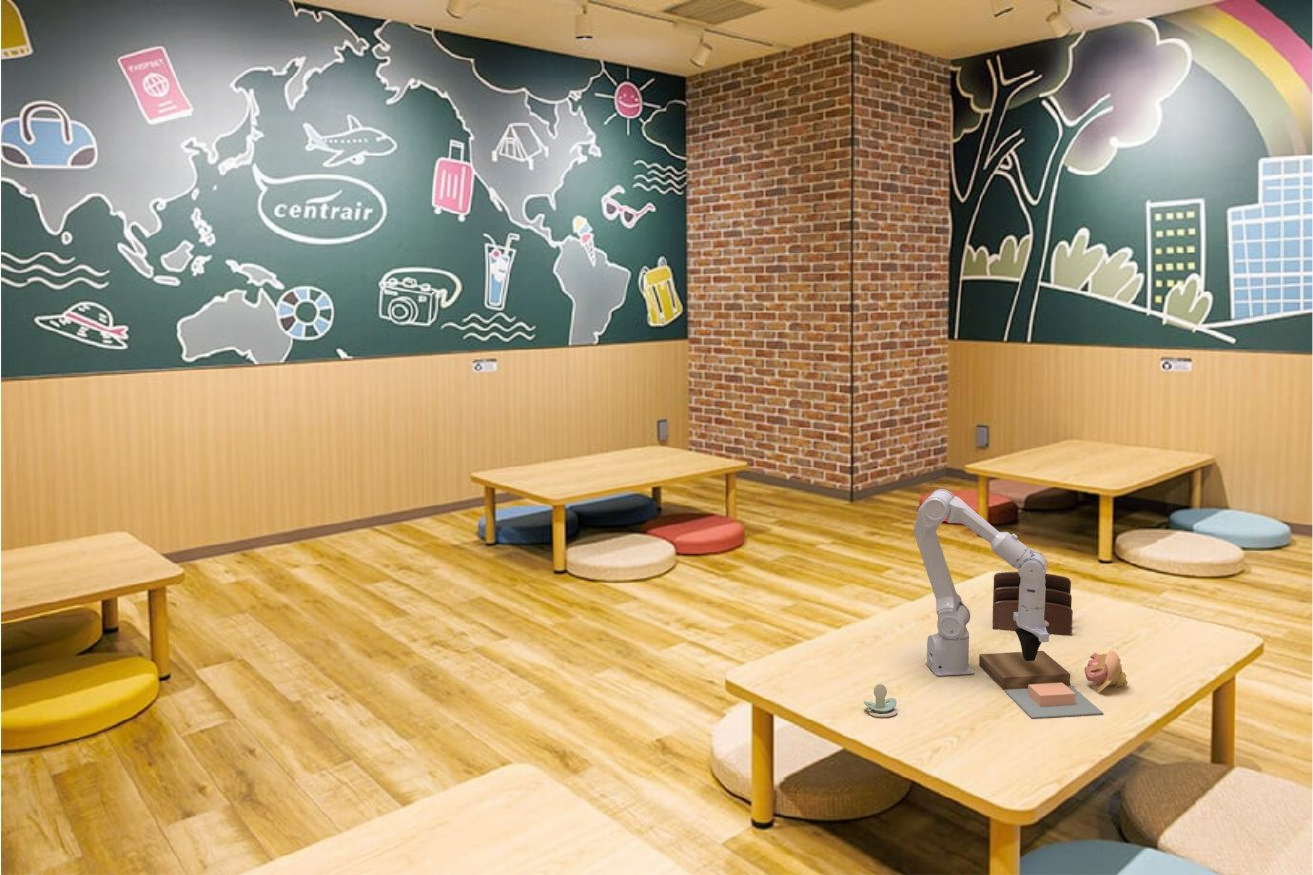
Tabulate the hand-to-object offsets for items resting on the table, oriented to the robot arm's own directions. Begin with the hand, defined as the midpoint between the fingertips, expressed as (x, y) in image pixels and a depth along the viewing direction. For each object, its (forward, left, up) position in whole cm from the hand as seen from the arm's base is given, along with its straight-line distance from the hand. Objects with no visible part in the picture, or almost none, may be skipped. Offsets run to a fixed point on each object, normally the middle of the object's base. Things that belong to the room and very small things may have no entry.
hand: (1029, 659), depth 229 cm
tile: (0, -11, -2) cm, 11 cm away
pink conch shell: (+15, -6, -6) cm, 17 cm away
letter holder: (+16, +34, -6) cm, 38 cm away
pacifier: (-39, -12, -6) cm, 41 cm away
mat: (0, -12, -5) cm, 13 cm away
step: (0, +3, -5) cm, 6 cm away
